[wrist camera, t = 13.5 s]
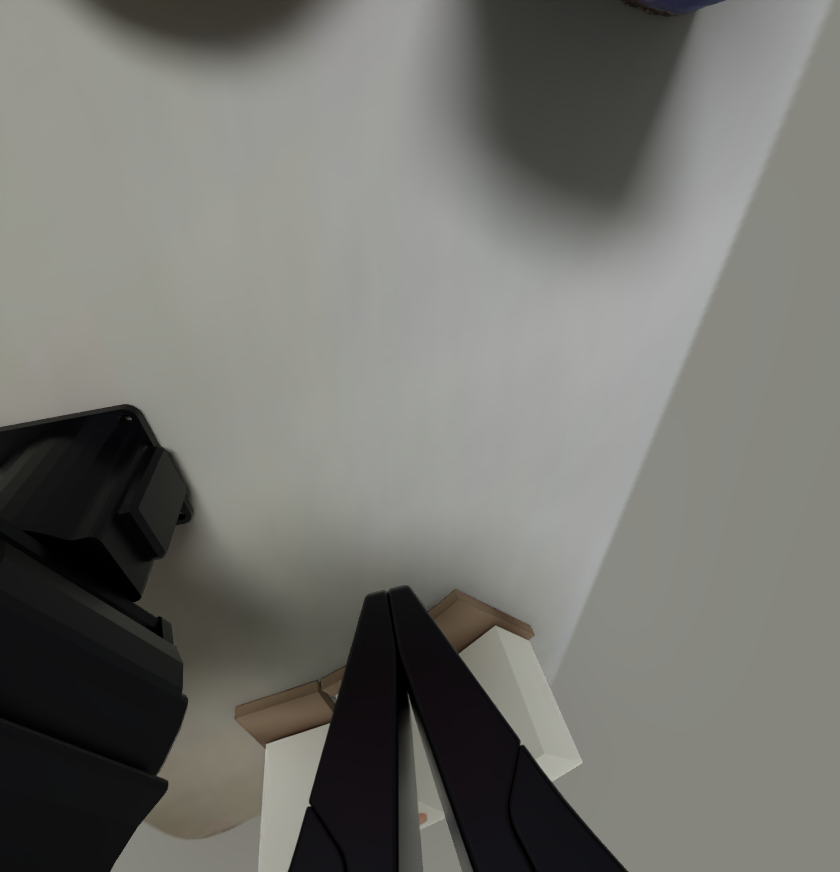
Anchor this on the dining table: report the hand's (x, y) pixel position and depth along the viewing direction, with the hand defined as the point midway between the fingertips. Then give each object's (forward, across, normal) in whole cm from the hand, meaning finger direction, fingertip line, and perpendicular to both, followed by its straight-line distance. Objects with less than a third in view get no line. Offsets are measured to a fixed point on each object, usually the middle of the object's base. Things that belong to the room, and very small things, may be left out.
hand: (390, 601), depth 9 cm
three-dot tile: (+13, +9, +31) cm, 35 cm away
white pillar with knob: (+13, -6, +25) cm, 29 cm away
